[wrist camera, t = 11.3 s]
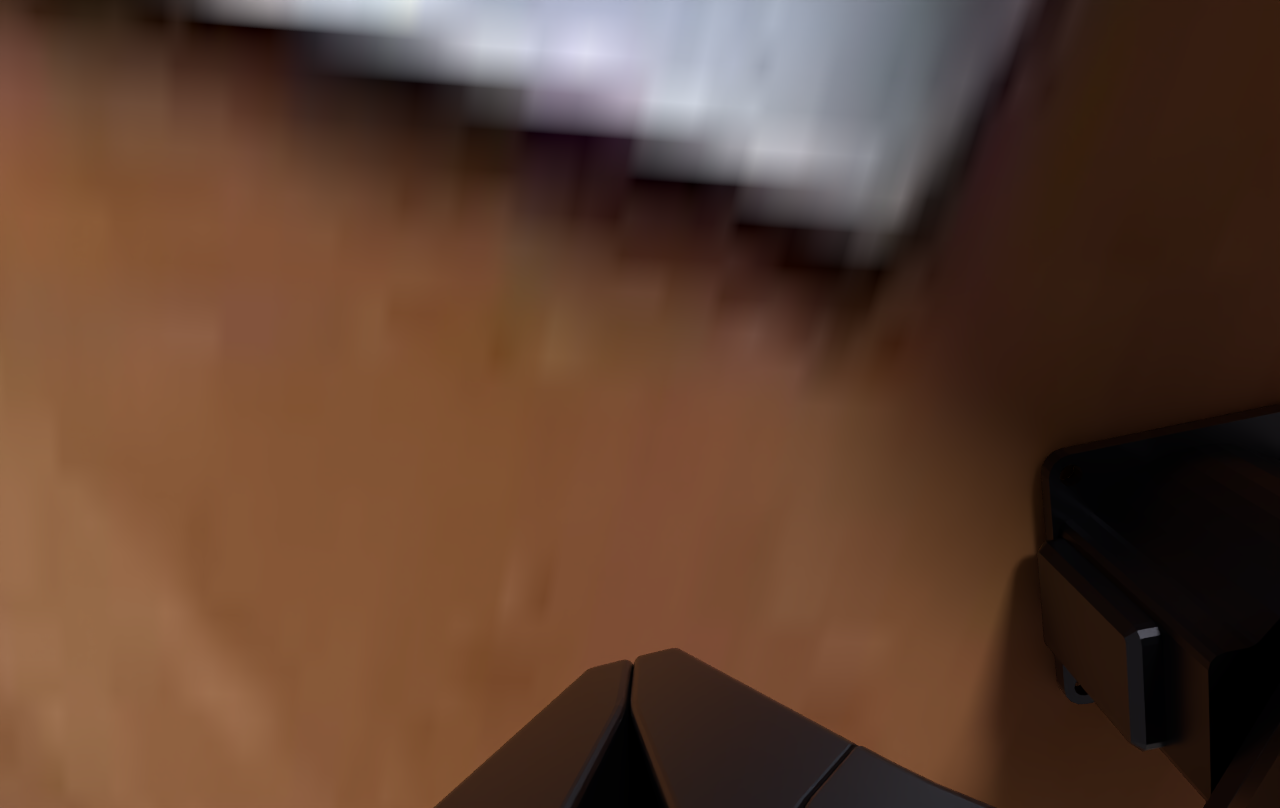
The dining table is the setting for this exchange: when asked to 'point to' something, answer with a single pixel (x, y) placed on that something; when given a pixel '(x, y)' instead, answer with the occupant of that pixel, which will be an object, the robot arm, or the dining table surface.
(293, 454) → the dining table surface
